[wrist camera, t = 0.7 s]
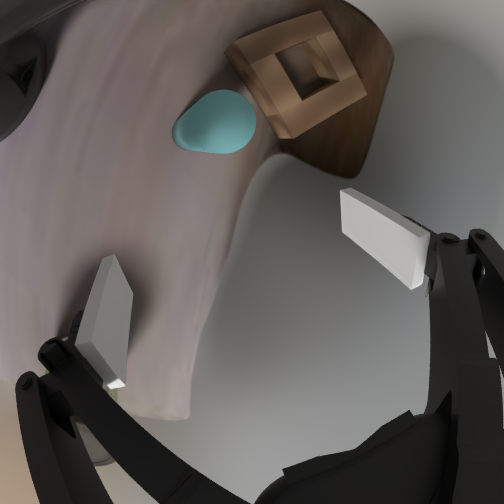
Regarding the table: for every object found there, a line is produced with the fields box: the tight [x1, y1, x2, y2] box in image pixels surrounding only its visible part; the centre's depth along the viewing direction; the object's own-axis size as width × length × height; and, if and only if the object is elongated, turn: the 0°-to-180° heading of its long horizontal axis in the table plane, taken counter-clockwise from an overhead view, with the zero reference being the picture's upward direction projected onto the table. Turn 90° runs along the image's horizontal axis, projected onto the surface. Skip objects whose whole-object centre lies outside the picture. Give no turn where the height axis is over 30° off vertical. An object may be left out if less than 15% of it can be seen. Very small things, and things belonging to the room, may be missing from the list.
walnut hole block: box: [224, 10, 367, 138], centre depth 27 cm, size 12×12×4 cm
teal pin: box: [172, 90, 256, 154], centre depth 22 cm, size 4×4×14 cm
